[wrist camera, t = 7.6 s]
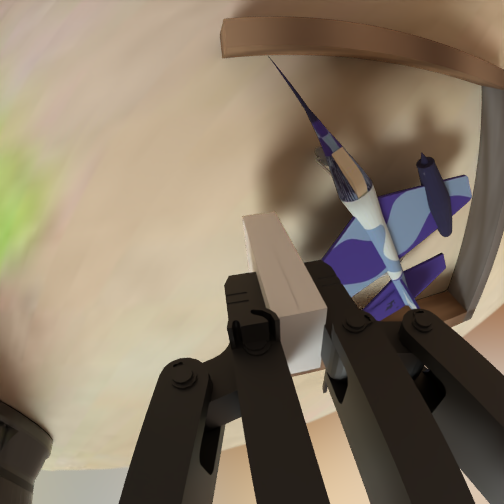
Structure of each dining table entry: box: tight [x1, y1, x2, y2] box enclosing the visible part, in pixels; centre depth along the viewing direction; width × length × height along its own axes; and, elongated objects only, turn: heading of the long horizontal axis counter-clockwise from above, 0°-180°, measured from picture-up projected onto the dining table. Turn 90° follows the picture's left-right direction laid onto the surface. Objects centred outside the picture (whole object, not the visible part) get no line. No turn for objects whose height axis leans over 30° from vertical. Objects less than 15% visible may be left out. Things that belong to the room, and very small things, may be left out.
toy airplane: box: [269, 57, 472, 321], centre depth 14 cm, size 13×14×4 cm
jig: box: [220, 17, 504, 377], centre depth 15 cm, size 18×19×3 cm
